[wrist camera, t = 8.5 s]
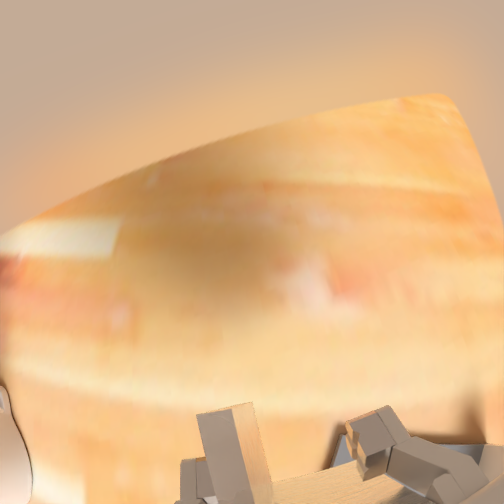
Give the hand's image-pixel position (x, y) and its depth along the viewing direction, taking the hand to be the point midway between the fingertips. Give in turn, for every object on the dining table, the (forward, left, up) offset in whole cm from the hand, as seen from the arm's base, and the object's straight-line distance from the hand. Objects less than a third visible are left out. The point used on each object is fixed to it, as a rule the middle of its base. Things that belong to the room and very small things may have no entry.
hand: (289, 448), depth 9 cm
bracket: (+1, 0, -4) cm, 4 cm away
